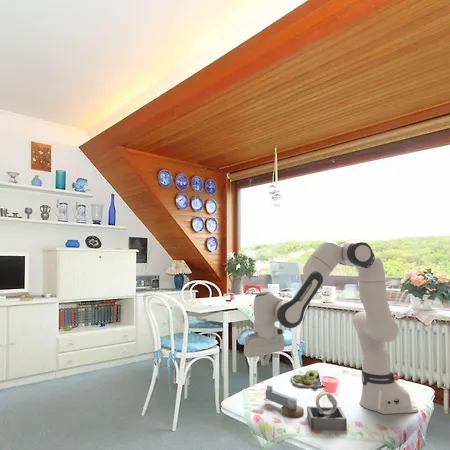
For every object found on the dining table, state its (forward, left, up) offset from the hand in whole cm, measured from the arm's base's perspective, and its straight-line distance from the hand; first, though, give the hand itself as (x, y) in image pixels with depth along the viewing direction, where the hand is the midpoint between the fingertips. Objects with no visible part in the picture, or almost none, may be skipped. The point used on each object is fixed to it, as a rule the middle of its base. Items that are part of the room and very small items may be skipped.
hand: (264, 364), depth 161 cm
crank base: (-11, +1, -19) cm, 22 cm away
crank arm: (-7, -4, -17) cm, 19 cm away
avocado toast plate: (-23, -37, -20) cm, 48 cm away
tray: (-23, +10, -19) cm, 31 cm away
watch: (-23, +11, -18) cm, 31 cm away
